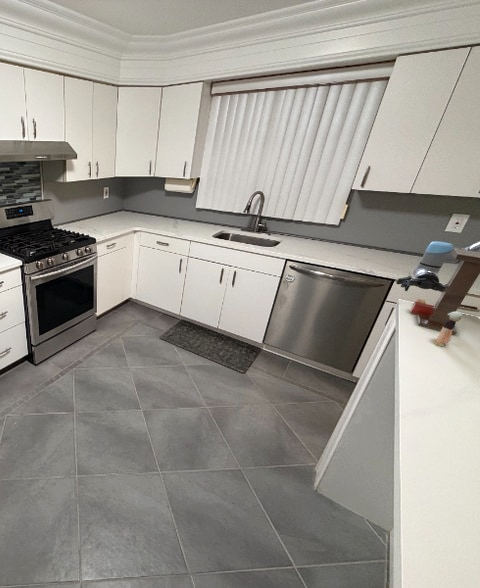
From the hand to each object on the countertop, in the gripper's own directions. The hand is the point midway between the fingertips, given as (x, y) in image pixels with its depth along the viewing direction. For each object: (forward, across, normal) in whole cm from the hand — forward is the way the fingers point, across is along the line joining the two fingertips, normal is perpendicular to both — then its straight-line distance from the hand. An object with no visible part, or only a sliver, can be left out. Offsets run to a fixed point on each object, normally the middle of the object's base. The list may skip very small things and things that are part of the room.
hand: (429, 293), depth 129 cm
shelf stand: (+11, -4, -8) cm, 15 cm away
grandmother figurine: (+30, -4, -9) cm, 31 cm away
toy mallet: (-1, 0, -8) cm, 8 cm away
